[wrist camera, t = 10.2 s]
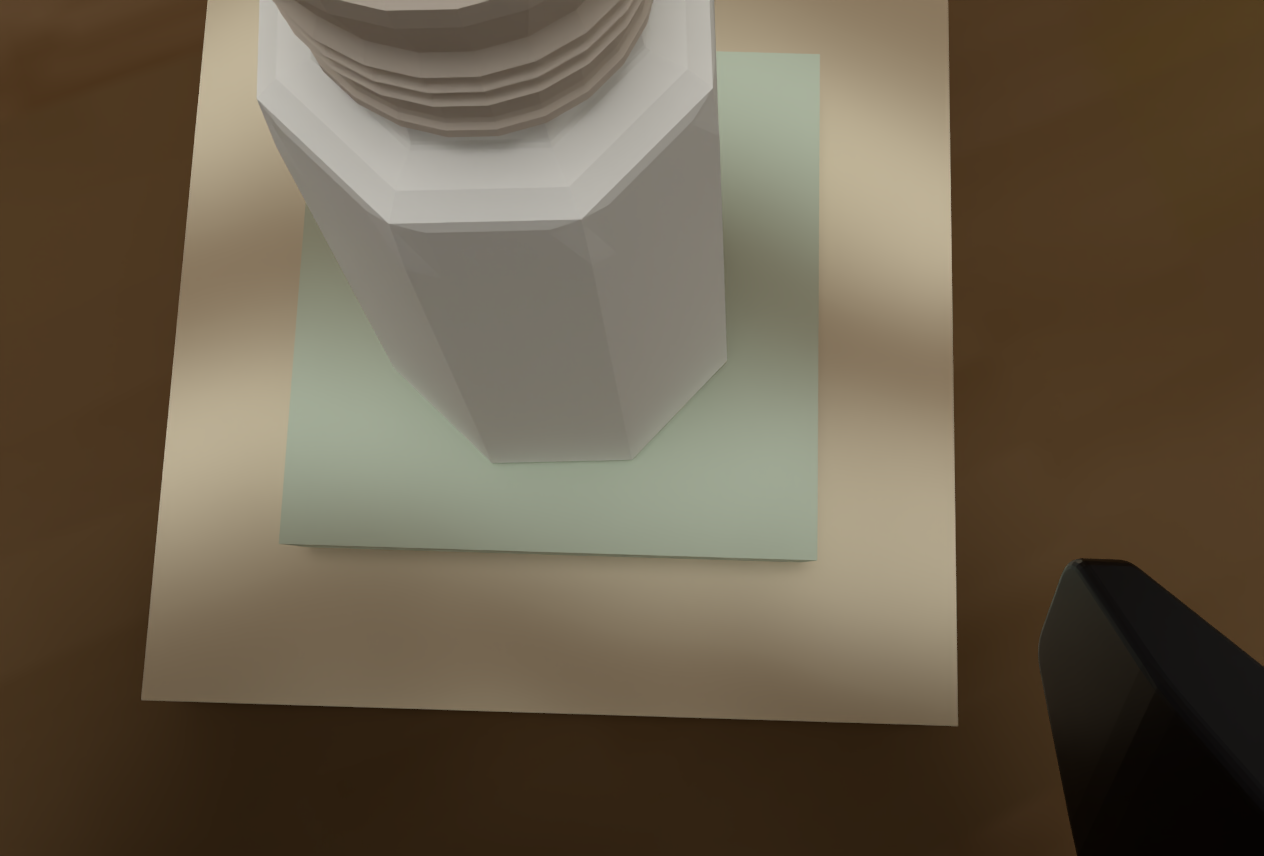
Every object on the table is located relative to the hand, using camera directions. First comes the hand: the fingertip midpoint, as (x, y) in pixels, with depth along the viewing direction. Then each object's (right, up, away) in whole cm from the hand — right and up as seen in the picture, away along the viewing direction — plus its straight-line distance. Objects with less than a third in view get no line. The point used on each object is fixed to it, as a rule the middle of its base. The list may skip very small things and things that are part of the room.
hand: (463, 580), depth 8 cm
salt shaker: (0, +3, +8) cm, 9 cm away
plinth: (0, +3, +11) cm, 12 cm away
